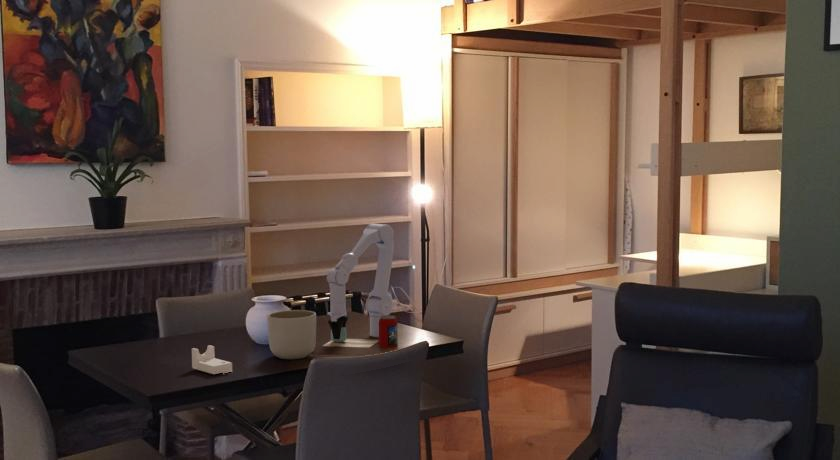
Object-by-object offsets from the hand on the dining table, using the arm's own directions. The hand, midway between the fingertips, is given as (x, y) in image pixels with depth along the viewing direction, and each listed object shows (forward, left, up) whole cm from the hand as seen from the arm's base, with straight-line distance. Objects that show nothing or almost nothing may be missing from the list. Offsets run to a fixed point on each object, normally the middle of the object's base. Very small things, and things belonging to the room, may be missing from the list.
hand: (338, 337), depth 354 cm
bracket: (+47, -28, -4) cm, 55 cm away
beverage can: (+3, +20, -3) cm, 20 cm away
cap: (0, 0, -1) cm, 1 cm away
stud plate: (0, +5, -3) cm, 6 cm away
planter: (+21, -10, -3) cm, 24 cm away
